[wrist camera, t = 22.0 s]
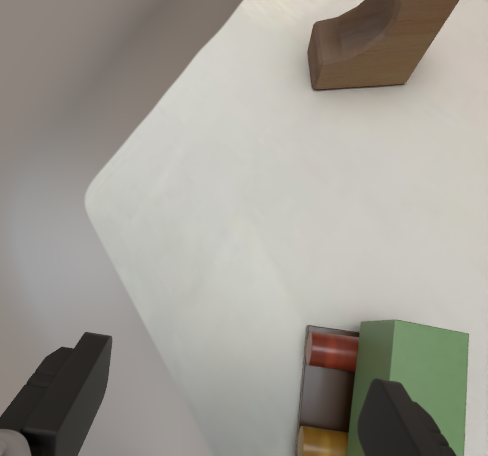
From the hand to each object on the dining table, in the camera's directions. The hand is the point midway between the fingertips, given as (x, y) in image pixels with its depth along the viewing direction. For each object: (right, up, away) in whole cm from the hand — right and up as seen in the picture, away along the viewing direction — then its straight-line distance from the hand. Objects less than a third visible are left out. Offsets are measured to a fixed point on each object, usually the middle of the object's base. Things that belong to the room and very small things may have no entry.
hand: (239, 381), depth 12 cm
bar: (+12, -11, +20) cm, 26 cm away
